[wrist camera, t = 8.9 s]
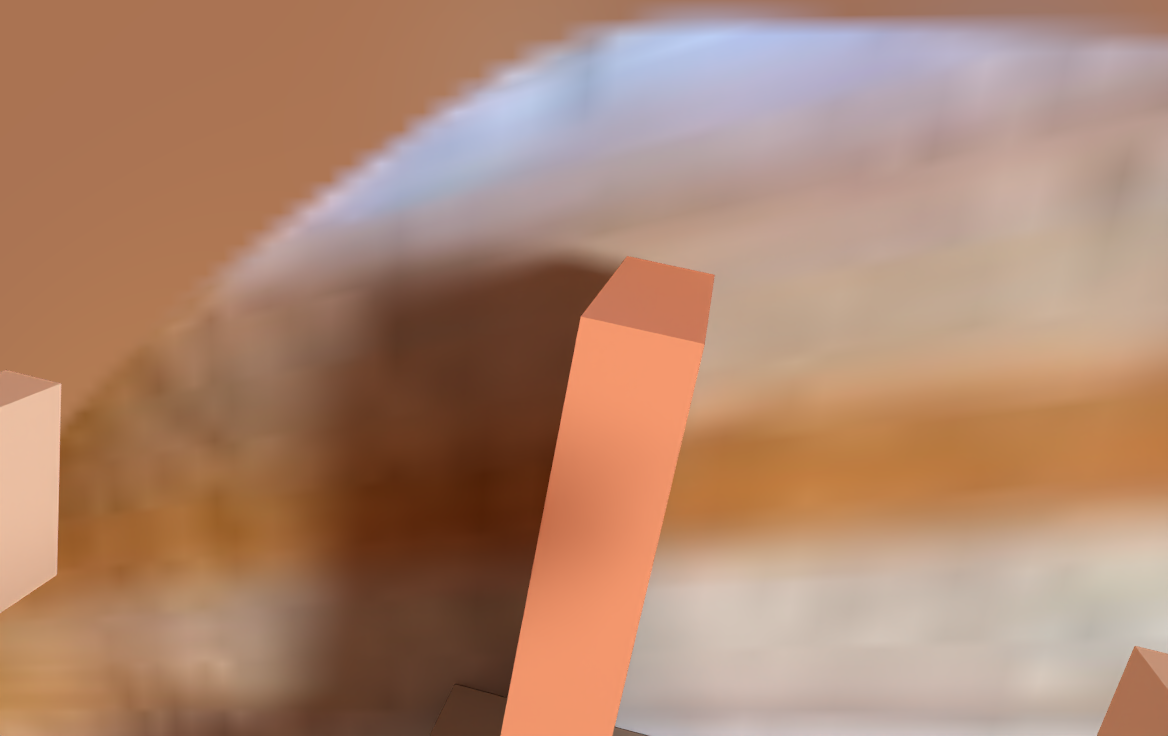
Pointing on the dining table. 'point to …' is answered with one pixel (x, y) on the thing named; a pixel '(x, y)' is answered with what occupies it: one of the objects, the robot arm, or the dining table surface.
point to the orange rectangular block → (607, 497)
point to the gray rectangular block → (478, 715)
